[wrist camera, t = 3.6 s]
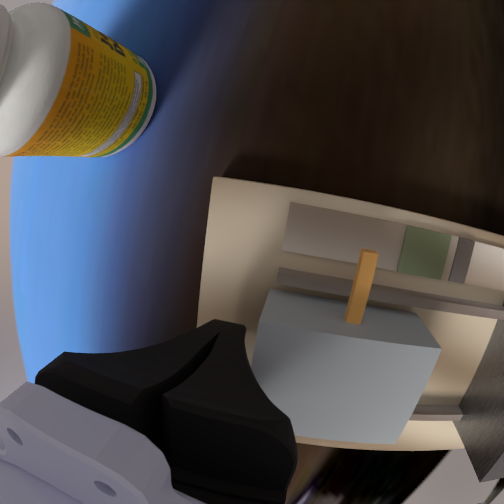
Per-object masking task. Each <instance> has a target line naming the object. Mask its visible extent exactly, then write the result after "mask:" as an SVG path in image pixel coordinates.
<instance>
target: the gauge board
mask: <svg viewBox="0 0 504 504" xmlns="http://www.w3.org/2000/svg"><path fill="white" fill-rule="evenodd" d="M361 248H364V249H369V250H374V251H376V252H377V253H378V254H379V256H378V260H377V264H376V268H375V272H374V276H373V280H372V284H371V288H370V292H369V296H368V300H367V303H366V305H369V306H375V307H381V308H388V309H394V310H400V311H407V312H413V313H417V315H418V316H419V317H420V319H421V320H422V321H423V323H424V324H425V326H426V327H427V328H428V330H429V331H430V333H431V334H432V335H433V337H434V338H435V340H436V341H437V342H438V344H439V345H440V347H441V348H442V350H441V352H440V355H439V357H438V360H437V362H436V364H435V367H434V369H433V371H432V373H431V376H430V378H429V380H428V382H427V384H426V387H425V389H424V391H423V393H422V395H421V397H420V399H419V401H418V403H417V405H416V407H415V409H414V411H413V413H412V415H411V417H410V418H409V420H408V422H407V424H406V426H405V428H404V429H403V431H402V433H401V435H400V437H399V438H398V440H397V442H396V443H395V444H374V443H358V442H345V441H335V440H325V439H317V438H309V437H302V436H295V439H296V442H297V443H304V444H311V445H320V446H329V447H339V448H351V449H366V450H393V451H421V450H447V449H461V448H465V447H464V445H463V442H462V440H461V438H460V436H459V434H458V432H457V430H456V427H455V425H454V423H453V421H460V420H461V418H462V416H463V413H462V411H461V409H460V407H459V404H460V402H461V400H462V398H463V396H464V394H465V392H466V390H467V388H468V386H469V384H470V382H471V380H472V378H473V376H474V374H475V372H476V370H477V368H478V366H479V364H480V361H481V359H482V357H483V355H484V352H485V350H486V348H487V345H488V343H489V340H490V338H491V335H492V333H493V330H494V328H495V325H496V322H497V320H498V319H499V320H504V307H503V306H502V305H503V302H504V236H503V235H500V234H496V233H493V232H489V231H486V230H482V229H479V228H475V227H471V226H468V225H464V224H460V223H456V222H453V221H449V220H445V219H441V218H437V217H433V216H429V215H425V214H420V213H416V212H412V211H408V210H403V209H399V208H395V207H390V206H385V205H381V204H376V203H372V202H367V201H362V200H357V199H352V198H347V197H342V196H337V195H331V194H326V193H321V192H315V191H310V190H304V189H298V188H292V187H286V186H280V185H274V184H268V183H261V182H254V181H248V180H241V179H234V178H226V177H213V183H212V190H211V198H210V206H209V214H208V222H207V231H206V239H205V248H204V257H203V267H202V276H201V286H200V297H199V307H198V319H197V327H199V326H201V325H203V324H205V323H207V322H209V321H211V320H213V319H218V320H222V321H227V322H232V323H237V324H242V325H244V326H245V327H246V328H247V329H246V335H245V347H246V353H247V357H248V360H249V363H250V366H251V364H252V358H253V352H254V347H255V341H256V335H257V330H258V324H259V320H260V317H261V314H262V311H263V308H264V305H265V302H266V299H267V296H268V293H269V290H270V288H272V289H277V290H283V291H288V292H294V293H299V294H305V295H310V296H316V297H322V298H327V299H333V300H339V301H345V302H348V301H349V297H350V293H351V289H352V285H353V281H354V277H355V273H356V268H357V264H358V260H359V255H360V250H361Z"/></svg>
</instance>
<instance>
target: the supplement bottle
mask: <svg viewBox="0 0 504 504" xmlns="http://www.w3.org/2000/svg"><path fill="white" fill-rule="evenodd" d="M155 102H156V83H155V79H154V75H153V73H152V71H151V69H150V67H149V66H148V64H147V63H146V62H145V60H143V59H142V58H141V57H140V56H138V55H137V54H135V53H133V52H132V51H130V50H129V49H127V48H125V47H124V46H122V45H121V44H119V43H117V42H116V41H114V40H112V39H111V38H110V37H108V36H106V35H105V34H103V33H101V32H99V31H97V30H96V29H94V28H93V27H91V26H89V25H88V24H86V23H84V22H82V21H81V20H79V19H77V18H75V17H74V16H72V15H70V14H68V13H66V12H64V11H63V10H61V9H59V8H57V7H55V6H52V5H50V4H46V3H30V4H26V5H23V6H20V7H18V8H15V9H14V10H12V11H10V12H9V13H8V12H7V10H6V8H5V7H4V6H3V5H0V156H1V157H5V156H75V157H106V156H110V155H113V154H115V153H118V152H120V151H122V150H123V149H125V148H126V147H128V146H129V145H131V144H132V143H133V142H134V141H135V140H136V139H137V138H138V137H139V136H140V135H141V134H142V132H143V131H144V130H145V128H146V126H147V125H148V123H149V121H150V118H151V116H152V113H153V111H154V107H155Z"/></svg>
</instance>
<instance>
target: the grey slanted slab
mask: <svg viewBox="0 0 504 504" xmlns="http://www.w3.org/2000/svg"><path fill="white" fill-rule="evenodd" d="M502 306H503V307H504V302H503V305H502ZM459 407H460V409H461V411H462V413H463V416H462V418H461V420H460V421H453V423H454V425H455V427H456V430H457V432H458V434H459V436H460V438H461V440H462V442H463V445H464V447H465V449H466V451H467V454H468V456H469V458H470V460H471V463H472V465H473V467H474V470H475V472H476V475H477V477H478V479H479V482H485V481H489V480H495V479H499V478H504V320H499V319H498V320H497V322H496V325H495V328H494V330H493V333H492V335H491V338H490V340H489V343H488V345H487V348H486V350H485V352H484V355H483V357H482V359H481V361H480V364H479V366H478V368H477V370H476V372H475V374H474V376H473V378H472V380H471V382H470V384H469V386H468V388H467V390H466V392H465V394H464V396H463V398H462V400H461V402H460V404H459Z"/></svg>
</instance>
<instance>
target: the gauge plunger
mask: <svg viewBox="0 0 504 504" xmlns="http://www.w3.org/2000/svg"><path fill="white" fill-rule="evenodd" d="M378 256H379V254H378V253H377V252H376V251H374V250H369V249H364V248H361V250H360V255H359V260H358V264H357V268H356V273H355V277H354V281H353V285H352V289H351V293H350V297H349V301H348V302H345V301H339V300H333V299H327V298H322V297H316V296H310V295H305V294H299V293H294V292H288V291H283V290H277V289H272V288H270V290H269V293H268V296H267V299H266V302H265V305H264V308H263V311H262V314H261V317H260V320H259V324H258V330H257V335H256V341H255V347H254V352H253V358H252V364H251V369H252V371H253V374H254V376H255V378H256V380H257V382H258V383H259V385H260V387H261V388H262V390H263V391H264V393H265V394H266V395H267V397H268V398H269V399H270V401H271V402H272V403H273V404H274V405H275V406H276V407H277V408H279V409H280V410H281V411H282V412H283V413H284V414H286V415H287V416H288V417H289V418H290V420H291V423H292V427H293V431H294V435H295V436H302V437H309V438H317V439H325V440H335V441H345V442H358V443H374V444H395V443H396V442H397V440H398V438H399V437H400V435H401V433H402V431H403V429H404V428H405V426H406V424H407V422H408V420H409V418H410V417H411V415H412V413H413V411H414V409H415V407H416V405H417V403H418V401H419V399H420V397H421V395H422V393H423V391H424V389H425V387H426V384H427V382H428V380H429V378H430V376H431V373H432V371H433V369H434V367H435V364H436V362H437V360H438V357H439V355H440V352H441V350H442V348H441V347H440V345H439V344H438V342H437V341H436V340H435V338H434V337H433V335H432V334H431V333H430V331H429V330H428V328H427V327H426V326H425V324H424V323H423V321H422V320H421V319H420V317H419V316H418V315H417V313H413V312H407V311H400V310H394V309H388V308H381V307H375V306H369V305H366V303H367V300H368V296H369V292H370V288H371V284H372V280H373V276H374V272H375V268H376V264H377V260H378Z"/></svg>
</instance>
